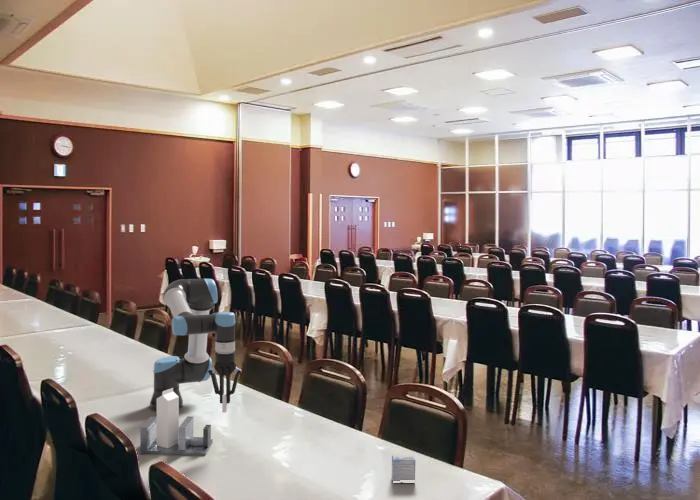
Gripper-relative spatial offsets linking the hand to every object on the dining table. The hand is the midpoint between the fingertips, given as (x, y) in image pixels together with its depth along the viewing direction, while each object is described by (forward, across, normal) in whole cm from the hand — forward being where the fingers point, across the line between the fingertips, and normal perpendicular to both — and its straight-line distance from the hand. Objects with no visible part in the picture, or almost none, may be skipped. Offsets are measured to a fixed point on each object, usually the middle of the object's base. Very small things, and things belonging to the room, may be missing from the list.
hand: (224, 411), depth 225 cm
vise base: (+15, -19, 0) cm, 24 cm away
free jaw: (+13, -12, 0) cm, 18 cm away
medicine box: (+16, +68, -26) cm, 74 cm away
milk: (+14, -23, +1) cm, 27 cm away
